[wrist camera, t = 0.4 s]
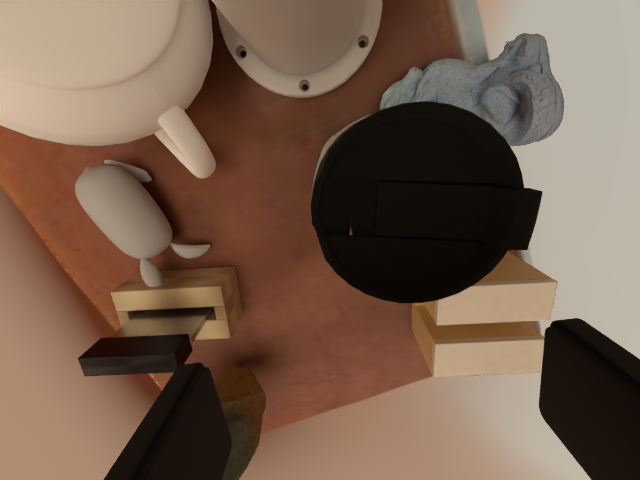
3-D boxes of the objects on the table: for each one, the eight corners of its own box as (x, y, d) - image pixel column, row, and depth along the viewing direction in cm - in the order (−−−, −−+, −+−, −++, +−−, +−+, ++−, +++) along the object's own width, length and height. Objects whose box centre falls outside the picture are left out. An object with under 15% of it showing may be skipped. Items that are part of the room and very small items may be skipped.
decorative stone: (260, 329, 33) (211, 473, 19) (287, 370, 35) (261, 530, 21) (187, 362, 35) (92, 517, 20) (217, 399, 36) (147, 566, 22)
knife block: (151, 316, 33) (126, 343, 29) (139, 271, 31) (109, 292, 27) (243, 312, 33) (230, 338, 28) (235, 266, 31) (220, 286, 27)
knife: (161, 300, 32) (84, 376, 22) (157, 287, 32) (77, 358, 21) (226, 297, 32) (179, 372, 22) (223, 283, 31) (174, 354, 21)
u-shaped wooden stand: (413, 254, 30) (438, 288, 23) (505, 249, 30) (558, 281, 23) (411, 328, 33) (433, 377, 26) (495, 324, 33) (540, 373, 26)
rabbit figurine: (49, 185, 25) (146, 292, 30) (58, 176, 21) (166, 299, 26) (120, 153, 28) (195, 253, 34) (138, 140, 25) (219, 255, 30)
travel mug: (388, 199, 28) (516, 319, 9) (318, 197, 28) (305, 312, 9) (395, 128, 26) (576, 99, 7) (320, 126, 26) (309, 91, 7)
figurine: (547, 143, 24) (570, 133, 19) (398, 170, 30) (380, 170, 24) (541, 39, 23) (564, -6, 18) (388, 88, 29) (366, 66, 23)
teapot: (107, 253, 15) (136, 238, 26) (314, 85, 20) (264, 133, 31) (-808, -515, 7) (-204, -65, 18) (-101, -523, 11) (37, -154, 22)
